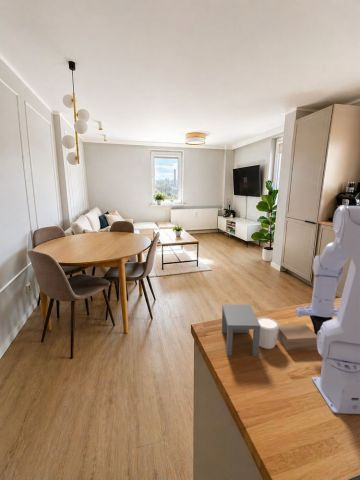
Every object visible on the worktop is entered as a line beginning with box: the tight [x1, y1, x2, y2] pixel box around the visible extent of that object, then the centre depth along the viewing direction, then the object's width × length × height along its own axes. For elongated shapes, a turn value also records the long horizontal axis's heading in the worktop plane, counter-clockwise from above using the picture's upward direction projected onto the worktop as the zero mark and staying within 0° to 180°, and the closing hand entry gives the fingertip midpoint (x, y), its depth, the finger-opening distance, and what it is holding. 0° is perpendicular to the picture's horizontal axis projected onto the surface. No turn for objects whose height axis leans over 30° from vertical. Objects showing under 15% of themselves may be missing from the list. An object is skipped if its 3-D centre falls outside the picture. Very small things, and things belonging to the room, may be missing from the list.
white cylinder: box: [256, 316, 280, 350], centre depth 73 cm, size 7×7×7 cm
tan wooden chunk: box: [277, 323, 318, 353], centre depth 73 cm, size 7×10×4 cm
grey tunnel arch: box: [221, 304, 260, 357], centre depth 73 cm, size 12×9×10 cm
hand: (318, 336), depth 72 cm, fingers closed
